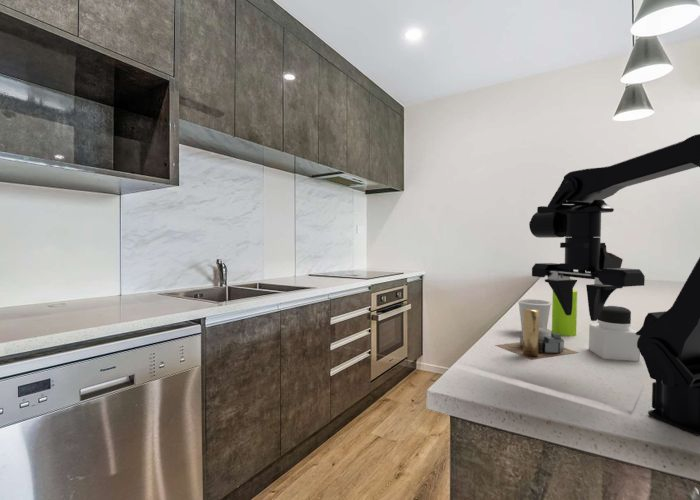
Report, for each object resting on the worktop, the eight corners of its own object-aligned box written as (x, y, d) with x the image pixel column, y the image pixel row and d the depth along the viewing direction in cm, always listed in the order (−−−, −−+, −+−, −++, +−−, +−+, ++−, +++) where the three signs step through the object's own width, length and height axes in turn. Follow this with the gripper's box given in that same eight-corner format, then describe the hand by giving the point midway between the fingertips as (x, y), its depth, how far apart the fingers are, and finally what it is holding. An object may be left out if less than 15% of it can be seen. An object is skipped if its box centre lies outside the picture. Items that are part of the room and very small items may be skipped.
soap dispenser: (555, 339, 96) (557, 266, 95) (549, 333, 103) (550, 264, 102) (580, 341, 94) (582, 267, 94) (572, 334, 101) (573, 265, 100)
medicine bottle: (640, 365, 76) (641, 310, 76) (603, 363, 78) (604, 309, 77) (621, 355, 83) (623, 304, 83) (588, 353, 85) (589, 303, 84)
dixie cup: (521, 340, 95) (521, 303, 95) (514, 332, 104) (514, 298, 103) (555, 342, 94) (556, 304, 93) (545, 334, 102) (545, 299, 101)
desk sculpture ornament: (567, 347, 85) (568, 305, 85) (549, 360, 75) (550, 313, 75) (528, 339, 91) (529, 301, 91) (507, 350, 82) (508, 308, 81)
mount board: (579, 356, 82) (579, 333, 82) (531, 364, 77) (531, 339, 77) (539, 343, 92) (539, 323, 92) (494, 349, 87) (495, 327, 87)
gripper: (666, 237, 62) (663, 325, 62) (568, 237, 79) (567, 306, 80) (623, 237, 58) (621, 330, 58) (530, 237, 76) (529, 309, 76)
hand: (580, 317), depth 68 cm, fingers open, 5 cm apart
